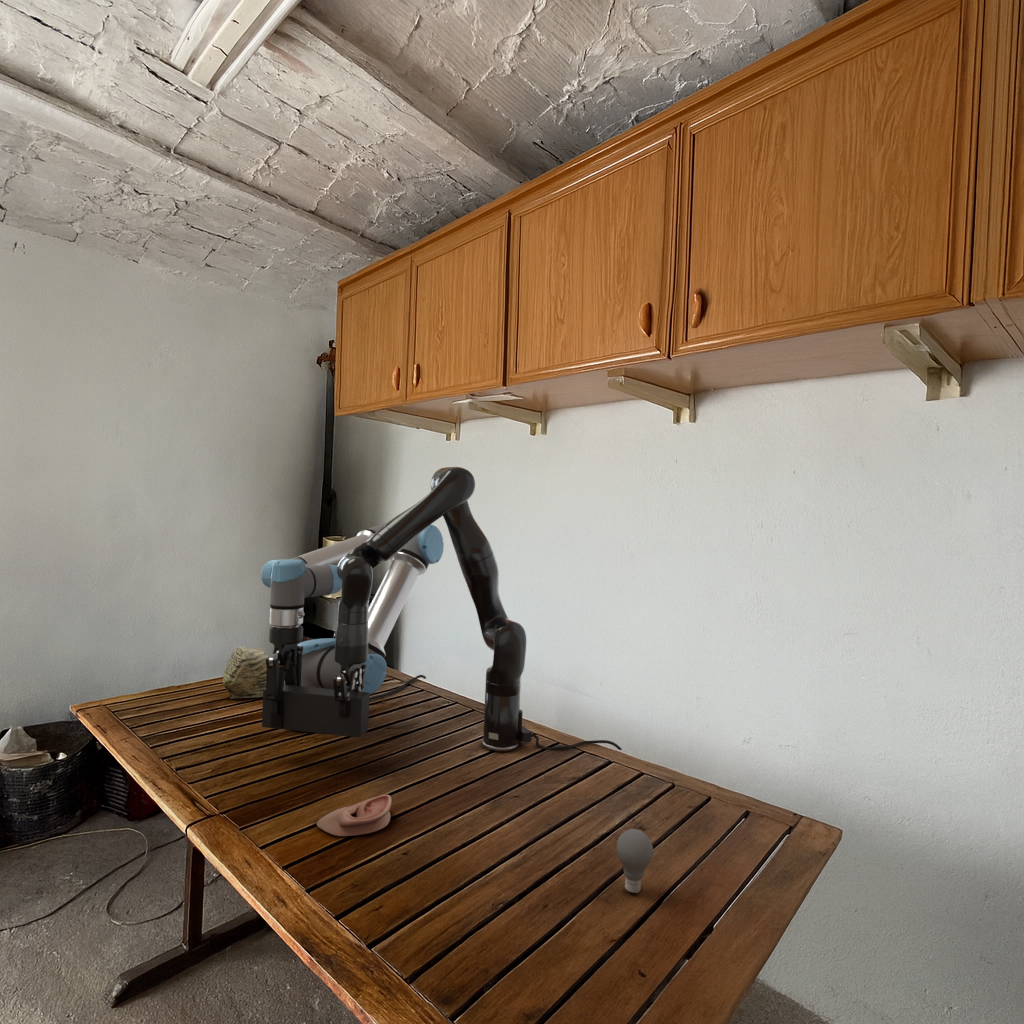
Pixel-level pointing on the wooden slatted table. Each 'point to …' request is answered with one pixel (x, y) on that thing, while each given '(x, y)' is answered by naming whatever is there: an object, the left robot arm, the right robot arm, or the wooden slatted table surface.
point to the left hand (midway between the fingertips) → (282, 723)
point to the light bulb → (634, 857)
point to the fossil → (246, 673)
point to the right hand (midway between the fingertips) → (349, 713)
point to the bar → (319, 711)
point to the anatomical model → (358, 817)
